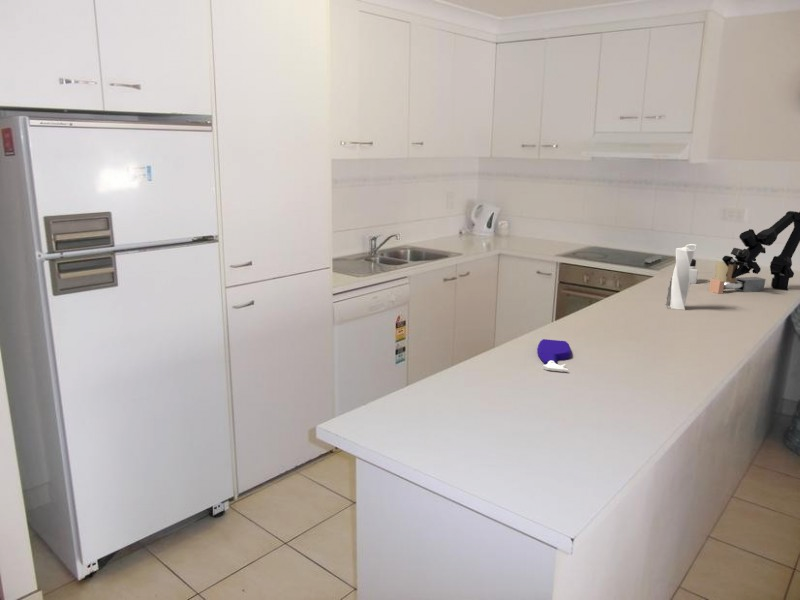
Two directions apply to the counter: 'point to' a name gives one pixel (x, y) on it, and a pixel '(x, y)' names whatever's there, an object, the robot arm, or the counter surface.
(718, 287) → the socket block
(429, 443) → the counter surface
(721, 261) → the coffee cup
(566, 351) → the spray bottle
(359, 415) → the counter surface
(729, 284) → the brown and silver piece
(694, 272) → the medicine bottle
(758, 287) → the steel block
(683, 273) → the skyscraper
